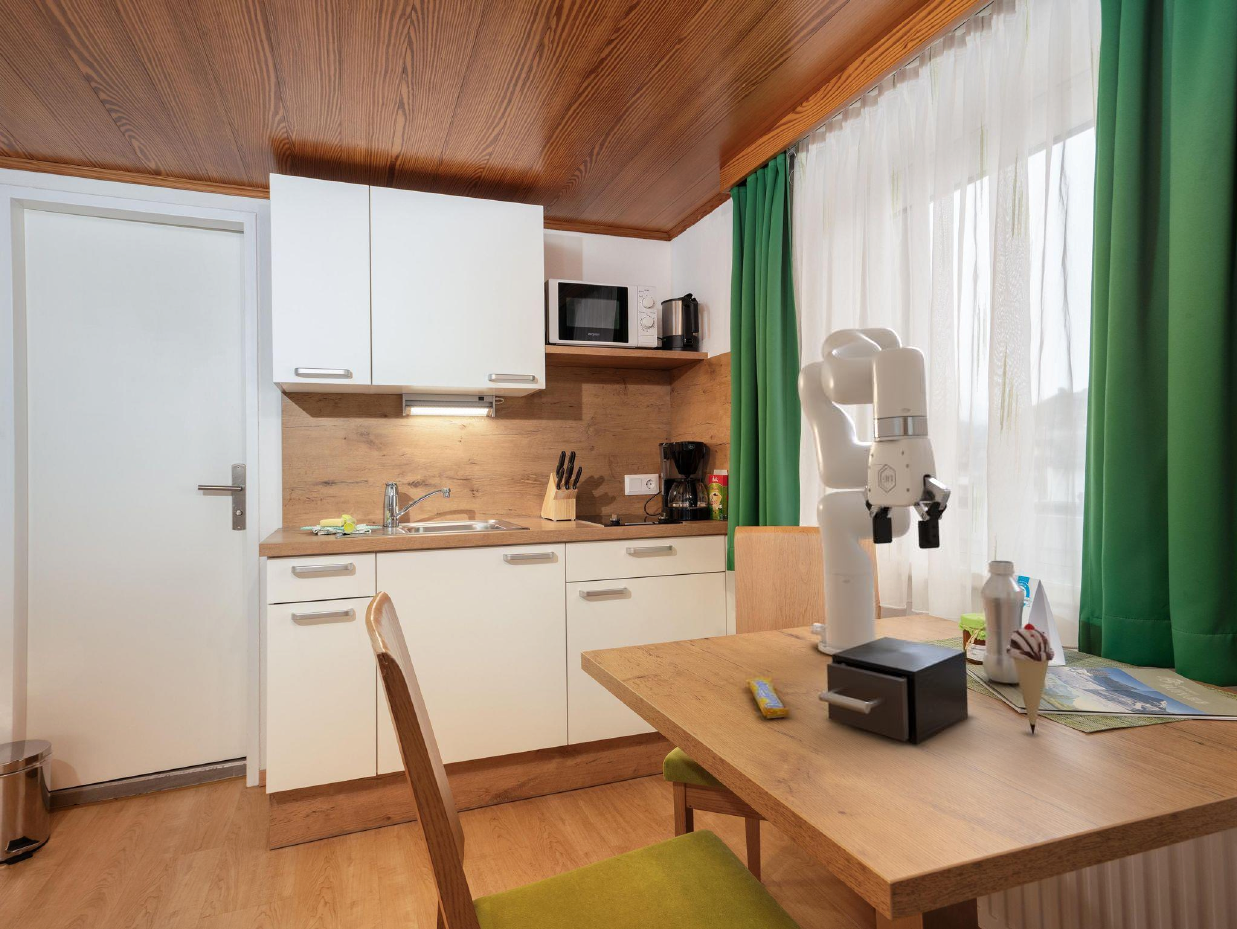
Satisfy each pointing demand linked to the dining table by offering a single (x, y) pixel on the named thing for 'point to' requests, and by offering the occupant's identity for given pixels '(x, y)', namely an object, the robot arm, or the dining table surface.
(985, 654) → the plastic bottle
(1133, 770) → the dining table surface
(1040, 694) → the ice cream cone
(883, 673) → the pull-out drawer
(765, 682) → the candy bar
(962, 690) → the small drawer cabinet
